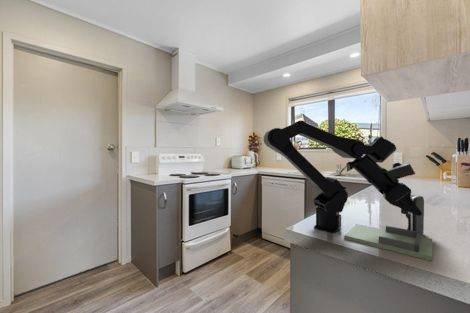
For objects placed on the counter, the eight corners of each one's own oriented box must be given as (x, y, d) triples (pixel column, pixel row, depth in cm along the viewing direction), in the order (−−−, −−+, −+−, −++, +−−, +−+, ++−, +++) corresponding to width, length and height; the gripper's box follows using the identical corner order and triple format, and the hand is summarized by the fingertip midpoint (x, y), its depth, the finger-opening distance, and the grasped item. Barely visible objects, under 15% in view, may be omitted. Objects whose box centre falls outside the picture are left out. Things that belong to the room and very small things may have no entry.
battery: (408, 229, 67) (408, 193, 66) (424, 233, 63) (424, 195, 63) (399, 234, 63) (399, 195, 63) (415, 238, 60) (415, 198, 60)
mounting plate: (344, 238, 60) (344, 229, 60) (356, 227, 69) (356, 219, 69) (431, 261, 47) (431, 249, 47) (432, 243, 57) (432, 233, 57)
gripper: (400, 154, 57) (457, 199, 52) (388, 153, 73) (430, 188, 68) (366, 182, 60) (415, 226, 55) (362, 175, 77) (400, 209, 72)
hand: (416, 210), depth 63 cm, fingers open, 9 cm apart
